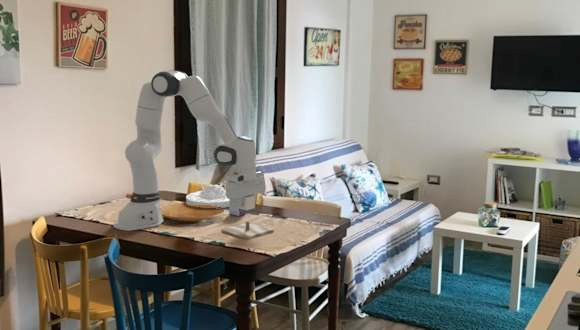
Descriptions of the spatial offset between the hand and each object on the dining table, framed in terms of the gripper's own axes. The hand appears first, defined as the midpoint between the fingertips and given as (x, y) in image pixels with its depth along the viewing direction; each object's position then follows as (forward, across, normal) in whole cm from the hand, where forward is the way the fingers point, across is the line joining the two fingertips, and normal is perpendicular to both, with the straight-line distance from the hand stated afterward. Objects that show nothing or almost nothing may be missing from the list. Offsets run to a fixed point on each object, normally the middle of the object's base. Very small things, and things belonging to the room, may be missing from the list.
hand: (246, 205), depth 272 cm
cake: (+12, -23, -51) cm, 57 cm away
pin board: (+11, 0, +1) cm, 11 cm away
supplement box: (+12, -15, -23) cm, 29 cm away
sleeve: (+3, 0, 0) cm, 3 cm away
